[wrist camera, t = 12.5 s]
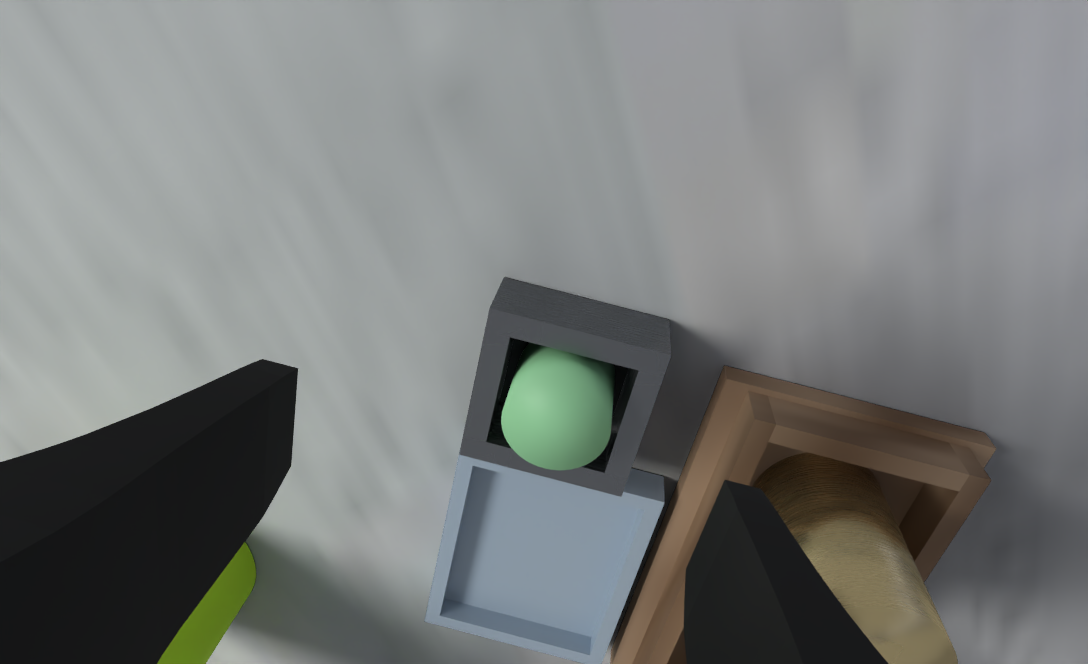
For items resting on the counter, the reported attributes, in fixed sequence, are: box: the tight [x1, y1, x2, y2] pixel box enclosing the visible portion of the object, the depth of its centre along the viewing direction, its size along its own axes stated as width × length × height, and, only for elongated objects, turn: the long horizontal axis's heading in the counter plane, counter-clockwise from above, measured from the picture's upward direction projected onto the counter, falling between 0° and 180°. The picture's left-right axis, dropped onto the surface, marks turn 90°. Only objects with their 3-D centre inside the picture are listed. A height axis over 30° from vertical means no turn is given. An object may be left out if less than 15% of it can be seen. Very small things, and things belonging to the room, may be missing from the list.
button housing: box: [459, 277, 671, 497], centre depth 21 cm, size 5×5×2 cm
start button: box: [501, 343, 615, 470], centre depth 21 cm, size 3×3×3 cm
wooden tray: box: [610, 366, 996, 664], centre depth 23 cm, size 8×13×2 cm, turn 167°
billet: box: [753, 452, 958, 664], centre depth 19 cm, size 4×4×7 cm
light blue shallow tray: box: [424, 448, 665, 664], centre depth 25 cm, size 7×8×1 cm
